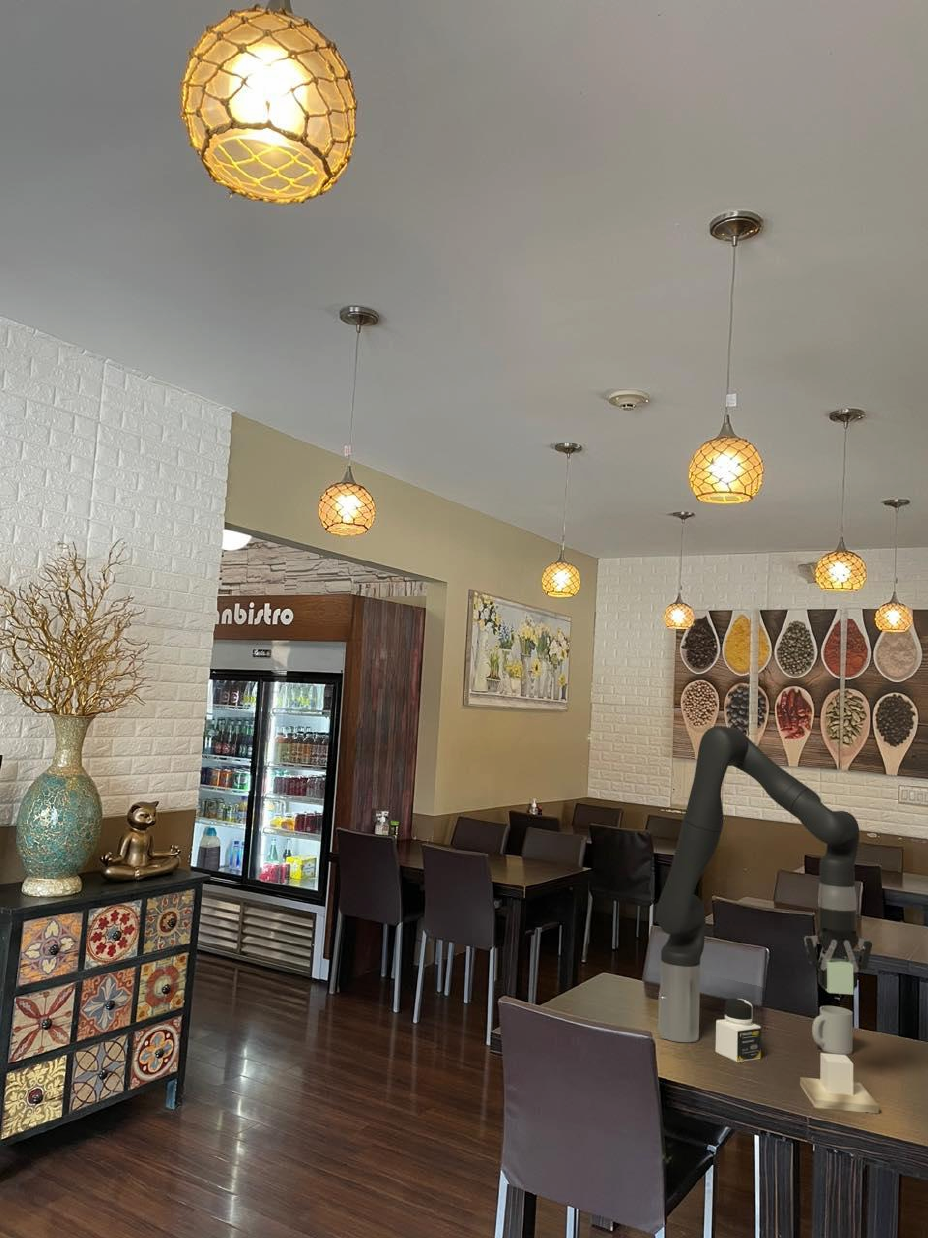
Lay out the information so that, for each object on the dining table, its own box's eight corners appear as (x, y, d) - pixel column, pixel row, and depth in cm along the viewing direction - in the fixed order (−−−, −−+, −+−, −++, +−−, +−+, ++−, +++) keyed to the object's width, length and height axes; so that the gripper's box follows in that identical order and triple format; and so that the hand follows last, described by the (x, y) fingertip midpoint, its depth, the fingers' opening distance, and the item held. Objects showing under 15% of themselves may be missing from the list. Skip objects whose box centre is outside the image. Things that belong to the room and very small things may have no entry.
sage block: (828, 993, 194) (828, 963, 195) (822, 986, 199) (821, 957, 200) (853, 994, 194) (853, 965, 195) (846, 988, 199) (845, 959, 200)
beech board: (815, 1108, 182) (815, 1100, 182) (800, 1085, 194) (800, 1077, 194) (878, 1114, 181) (878, 1105, 181) (859, 1090, 193) (859, 1083, 193)
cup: (859, 1054, 215) (859, 1014, 216) (822, 1056, 213) (823, 1016, 214) (838, 1044, 222) (838, 1005, 223) (802, 1046, 219) (803, 1006, 220)
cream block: (827, 1092, 186) (827, 1061, 187) (820, 1083, 191) (820, 1053, 192) (853, 1095, 186) (853, 1063, 187) (845, 1085, 191) (845, 1055, 192)
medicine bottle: (737, 1063, 205) (738, 1007, 207) (714, 1052, 212) (715, 998, 213) (761, 1059, 209) (762, 1004, 210) (738, 1049, 215) (739, 995, 216)
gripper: (807, 907, 195) (808, 991, 193) (878, 911, 194) (879, 996, 192) (798, 901, 203) (798, 982, 201) (865, 905, 202) (866, 986, 200)
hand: (837, 988), depth 196 cm, fingers closed on sage block, 5 cm apart
